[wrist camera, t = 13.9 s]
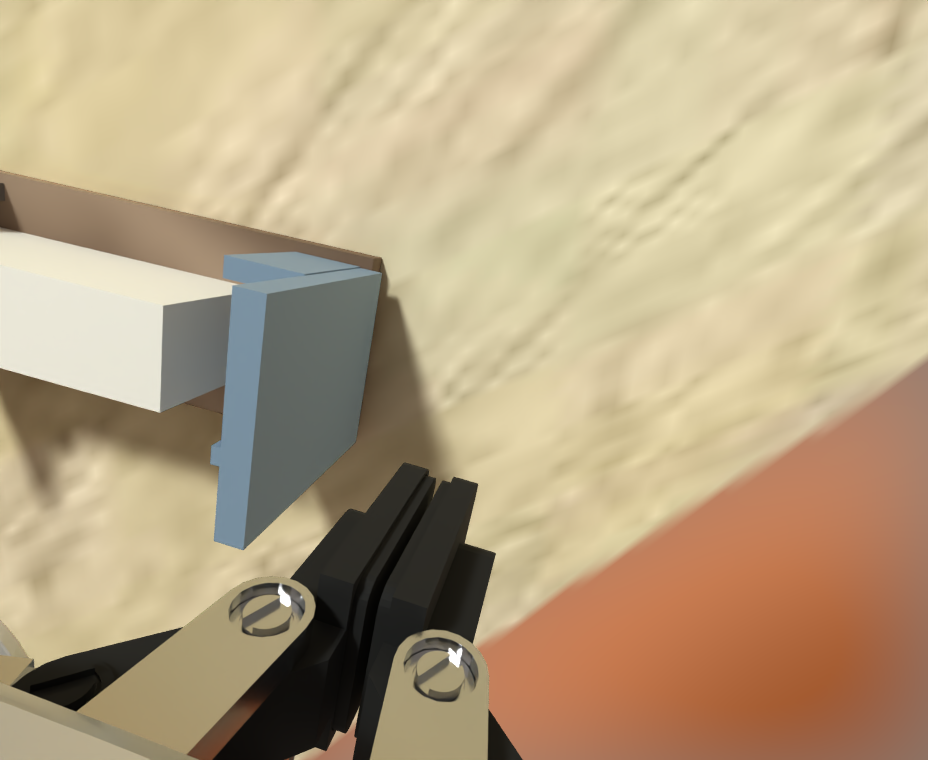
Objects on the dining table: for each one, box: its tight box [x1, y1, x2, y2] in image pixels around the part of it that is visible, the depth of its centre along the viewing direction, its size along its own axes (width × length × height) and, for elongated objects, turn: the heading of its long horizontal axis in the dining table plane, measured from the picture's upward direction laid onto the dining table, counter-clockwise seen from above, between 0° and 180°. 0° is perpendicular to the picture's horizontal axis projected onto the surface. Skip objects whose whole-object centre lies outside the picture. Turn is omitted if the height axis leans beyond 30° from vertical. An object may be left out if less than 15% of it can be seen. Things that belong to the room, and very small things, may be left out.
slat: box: [0, 227, 239, 413], centre depth 22 cm, size 4×16×6 cm, turn 79°
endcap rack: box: [0, 170, 382, 414], centre depth 21 cm, size 9×23×10 cm, turn 78°
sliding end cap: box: [210, 252, 382, 550], centre depth 19 cm, size 8×4×9 cm, turn 168°
